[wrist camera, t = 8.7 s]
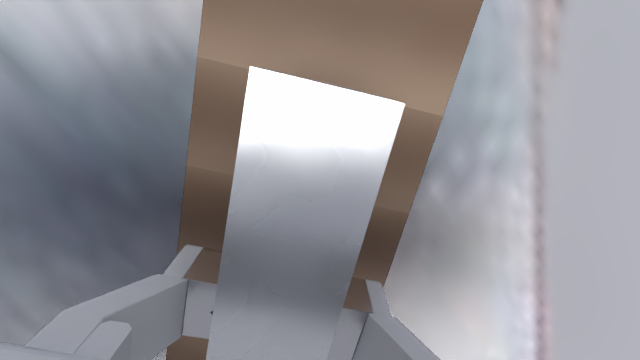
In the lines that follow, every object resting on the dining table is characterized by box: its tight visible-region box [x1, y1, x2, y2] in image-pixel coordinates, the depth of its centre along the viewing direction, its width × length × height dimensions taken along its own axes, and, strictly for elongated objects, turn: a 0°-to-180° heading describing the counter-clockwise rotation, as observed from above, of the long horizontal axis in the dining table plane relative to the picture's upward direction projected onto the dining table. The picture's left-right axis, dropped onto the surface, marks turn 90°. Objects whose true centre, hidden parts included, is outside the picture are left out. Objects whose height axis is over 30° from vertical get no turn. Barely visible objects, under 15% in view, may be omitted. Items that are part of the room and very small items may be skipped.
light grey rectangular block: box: [206, 66, 405, 360], centre depth 11 cm, size 12×3×8 cm, turn 167°
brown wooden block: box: [166, 0, 483, 360], centre depth 14 cm, size 22×9×3 cm, turn 167°
